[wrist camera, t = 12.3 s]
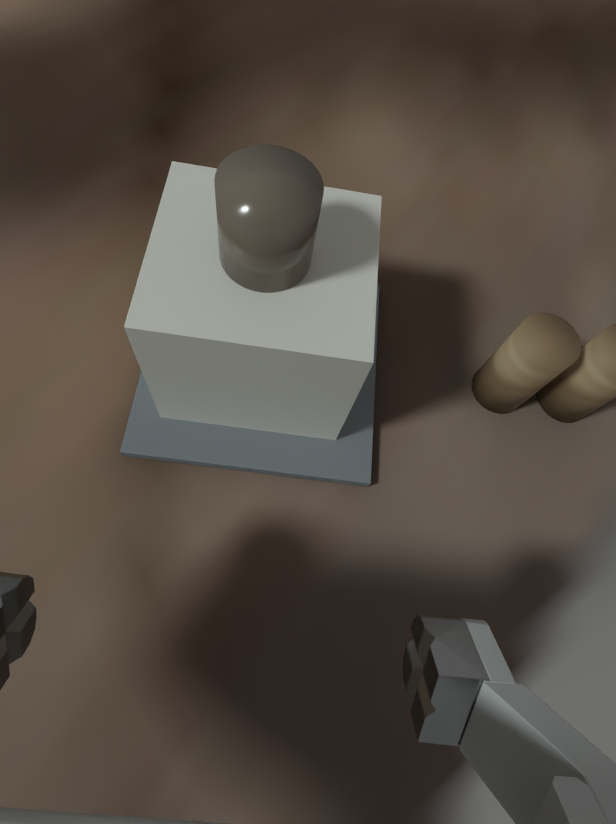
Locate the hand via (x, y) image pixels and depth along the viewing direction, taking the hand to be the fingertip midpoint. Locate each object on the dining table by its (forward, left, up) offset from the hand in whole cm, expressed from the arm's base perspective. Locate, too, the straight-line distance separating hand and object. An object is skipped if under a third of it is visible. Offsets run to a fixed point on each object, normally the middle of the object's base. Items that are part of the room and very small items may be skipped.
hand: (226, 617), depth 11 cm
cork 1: (+6, +12, -6) cm, 15 cm away
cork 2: (+9, +13, -6) cm, 17 cm away
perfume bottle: (-3, +9, -6) cm, 11 cm away
